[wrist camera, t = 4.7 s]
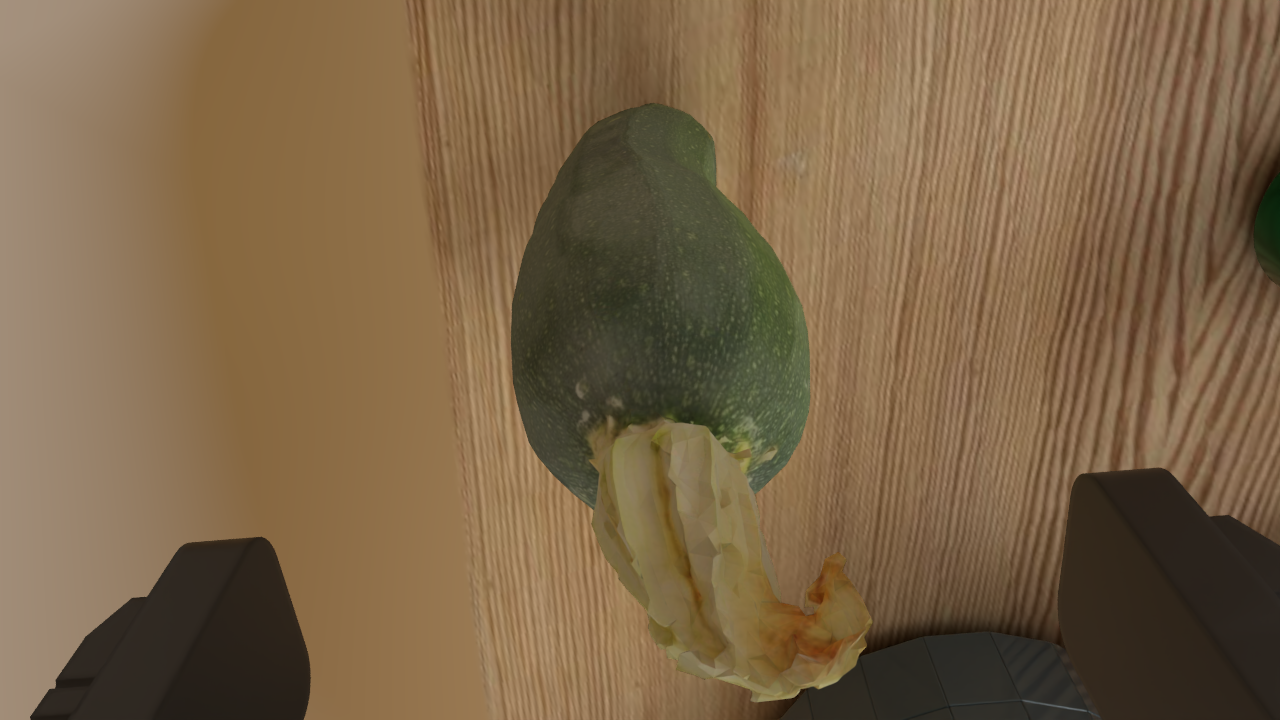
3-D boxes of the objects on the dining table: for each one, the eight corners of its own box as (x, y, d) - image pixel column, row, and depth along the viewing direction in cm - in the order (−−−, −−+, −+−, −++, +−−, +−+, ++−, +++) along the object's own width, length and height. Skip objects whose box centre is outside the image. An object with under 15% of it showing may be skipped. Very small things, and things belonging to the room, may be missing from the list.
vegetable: (547, 188, 27) (399, 822, 9) (574, 26, 25) (451, 441, 8) (705, 218, 28) (846, 878, 10) (743, 61, 26) (1003, 532, 8)
